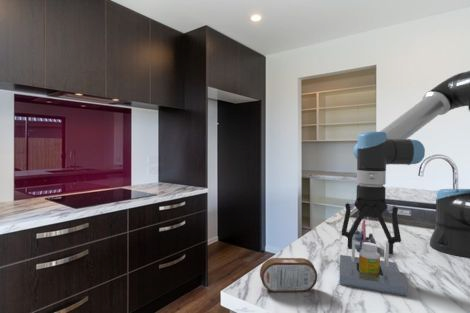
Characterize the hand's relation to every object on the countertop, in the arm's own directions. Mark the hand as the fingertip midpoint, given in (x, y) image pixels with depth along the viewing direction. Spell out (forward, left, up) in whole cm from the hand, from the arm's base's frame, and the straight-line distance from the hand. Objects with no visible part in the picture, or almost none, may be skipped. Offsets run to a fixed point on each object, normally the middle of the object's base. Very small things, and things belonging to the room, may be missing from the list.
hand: (369, 262), depth 79 cm
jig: (0, 0, -4) cm, 4 cm away
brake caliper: (0, -25, -5) cm, 25 cm away
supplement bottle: (0, 0, -5) cm, 5 cm away
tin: (+21, +17, -5) cm, 27 cm away
